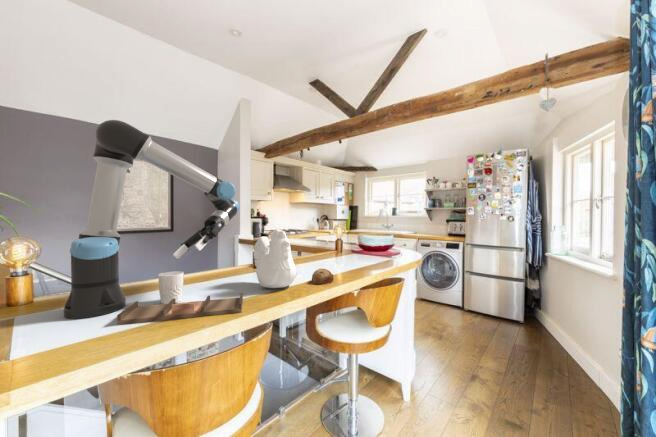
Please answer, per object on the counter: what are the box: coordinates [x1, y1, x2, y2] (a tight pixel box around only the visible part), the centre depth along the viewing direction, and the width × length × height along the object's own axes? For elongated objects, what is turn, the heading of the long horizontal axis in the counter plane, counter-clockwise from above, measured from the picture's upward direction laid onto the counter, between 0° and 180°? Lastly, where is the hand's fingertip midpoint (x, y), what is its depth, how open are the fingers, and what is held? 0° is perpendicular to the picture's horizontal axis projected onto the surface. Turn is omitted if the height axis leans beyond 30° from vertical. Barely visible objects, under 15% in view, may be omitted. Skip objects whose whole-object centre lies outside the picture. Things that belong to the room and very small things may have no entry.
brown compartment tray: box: [116, 292, 244, 326], centre depth 85 cm, size 33×12×4 cm, turn 106°
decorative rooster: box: [252, 228, 298, 289], centre depth 117 cm, size 25×16×25 cm, turn 35°
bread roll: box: [311, 268, 334, 285], centre depth 122 cm, size 10×10×8 cm
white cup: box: [157, 270, 185, 304], centre depth 95 cm, size 8×8×10 cm
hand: (185, 252), depth 101 cm, fingers open, 13 cm apart
